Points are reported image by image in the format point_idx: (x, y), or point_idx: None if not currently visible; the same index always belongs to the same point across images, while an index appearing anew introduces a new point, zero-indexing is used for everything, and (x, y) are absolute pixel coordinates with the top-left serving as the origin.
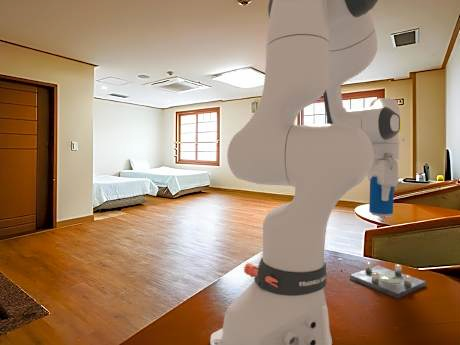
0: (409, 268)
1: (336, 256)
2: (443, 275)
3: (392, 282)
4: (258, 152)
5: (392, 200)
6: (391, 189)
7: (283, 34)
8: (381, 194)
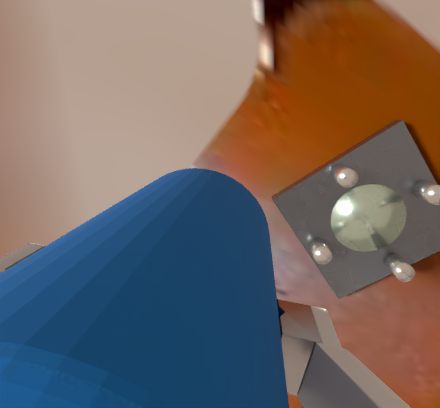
0: (260, 92)
1: None
2: (320, 5)
3: (401, 220)
4: None
5: (245, 224)
6: (264, 321)
7: None
8: (302, 397)
